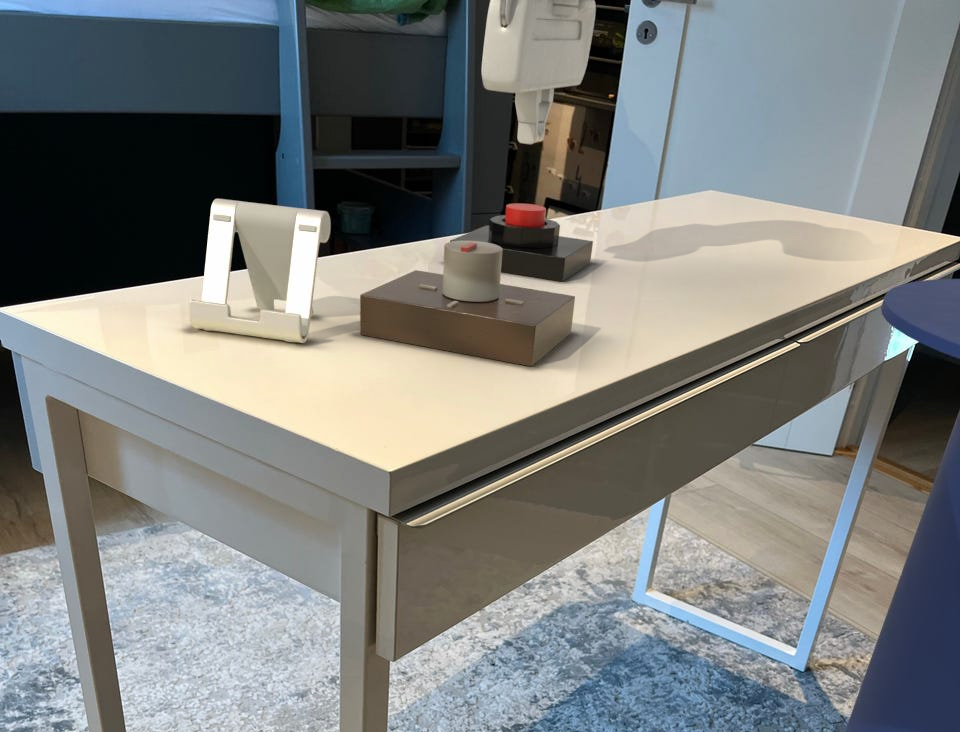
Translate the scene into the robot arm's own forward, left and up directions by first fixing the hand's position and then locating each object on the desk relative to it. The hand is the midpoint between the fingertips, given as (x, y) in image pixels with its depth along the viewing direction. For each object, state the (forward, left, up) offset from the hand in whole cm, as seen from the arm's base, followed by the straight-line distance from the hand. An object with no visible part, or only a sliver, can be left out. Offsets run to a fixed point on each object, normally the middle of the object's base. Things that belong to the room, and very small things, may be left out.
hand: (530, 142), depth 92 cm
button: (0, 0, -7) cm, 7 cm away
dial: (-5, +27, -8) cm, 29 cm away
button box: (0, 0, -11) cm, 11 cm away
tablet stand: (+9, +34, -11) cm, 37 cm away
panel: (-5, +27, -11) cm, 30 cm away
